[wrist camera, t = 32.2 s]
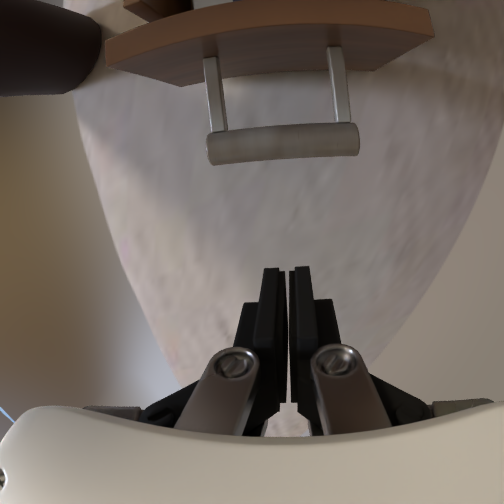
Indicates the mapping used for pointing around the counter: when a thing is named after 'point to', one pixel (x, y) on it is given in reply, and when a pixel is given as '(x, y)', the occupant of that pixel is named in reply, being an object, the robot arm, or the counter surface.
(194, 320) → the counter surface
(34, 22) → the bottle
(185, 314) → the counter surface
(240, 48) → the drawer
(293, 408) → the counter surface
